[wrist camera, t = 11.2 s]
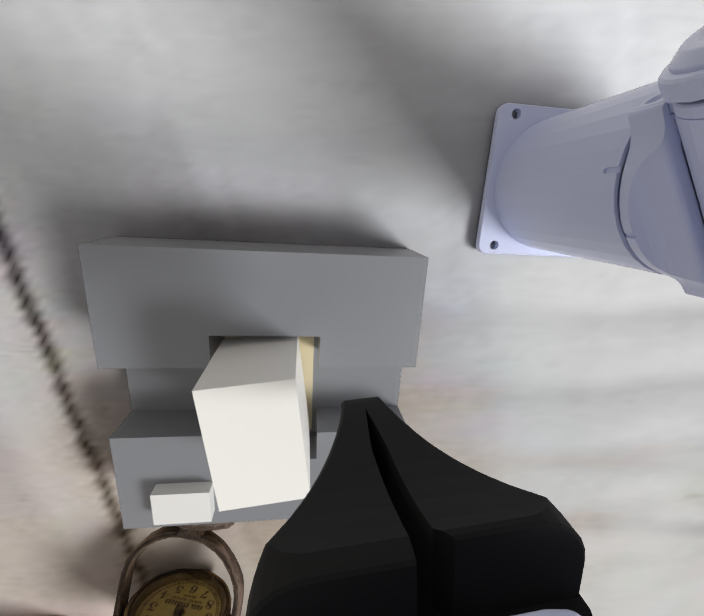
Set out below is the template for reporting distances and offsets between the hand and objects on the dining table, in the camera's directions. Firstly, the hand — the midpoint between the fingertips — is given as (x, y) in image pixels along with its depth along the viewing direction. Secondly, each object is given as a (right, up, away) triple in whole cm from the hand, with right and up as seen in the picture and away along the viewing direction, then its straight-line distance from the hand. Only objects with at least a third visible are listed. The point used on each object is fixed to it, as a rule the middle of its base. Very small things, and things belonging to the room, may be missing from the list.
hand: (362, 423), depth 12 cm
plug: (-5, 0, +9) cm, 10 cm away
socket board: (-5, 0, +10) cm, 11 cm away
